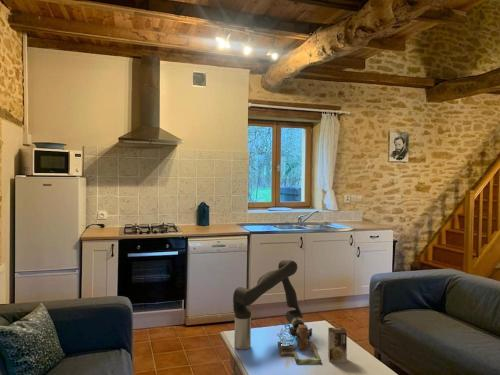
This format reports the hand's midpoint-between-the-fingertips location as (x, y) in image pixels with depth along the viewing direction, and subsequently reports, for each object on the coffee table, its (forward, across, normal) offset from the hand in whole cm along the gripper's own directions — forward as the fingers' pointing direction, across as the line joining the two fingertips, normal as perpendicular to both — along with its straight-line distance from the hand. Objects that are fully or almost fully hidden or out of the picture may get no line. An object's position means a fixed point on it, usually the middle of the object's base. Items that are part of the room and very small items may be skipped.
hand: (303, 337), depth 205 cm
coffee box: (+10, +16, +8) cm, 21 cm away
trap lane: (+2, -4, +8) cm, 9 cm away
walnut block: (-3, 0, +8) cm, 8 cm away
